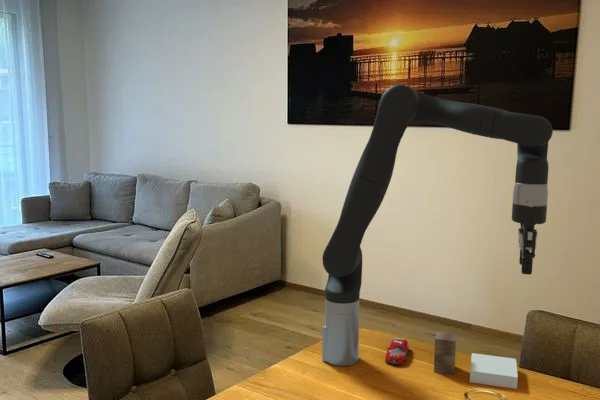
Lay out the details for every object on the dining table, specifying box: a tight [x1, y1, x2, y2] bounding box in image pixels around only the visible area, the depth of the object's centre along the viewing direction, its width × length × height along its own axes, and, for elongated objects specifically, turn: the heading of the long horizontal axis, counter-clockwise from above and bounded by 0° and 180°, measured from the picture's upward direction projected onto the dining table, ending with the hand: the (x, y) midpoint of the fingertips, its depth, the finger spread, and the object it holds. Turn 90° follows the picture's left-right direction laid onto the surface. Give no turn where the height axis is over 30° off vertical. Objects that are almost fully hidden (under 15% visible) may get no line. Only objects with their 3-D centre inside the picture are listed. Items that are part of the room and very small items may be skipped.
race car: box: [384, 338, 409, 366], centre depth 153 cm, size 13×5×4 cm, turn 161°
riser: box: [469, 352, 519, 390], centre depth 141 cm, size 11×11×3 cm
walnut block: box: [433, 331, 457, 375], centre depth 144 cm, size 5×5×9 cm
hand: (525, 269), depth 132 cm, fingers open, 8 cm apart
